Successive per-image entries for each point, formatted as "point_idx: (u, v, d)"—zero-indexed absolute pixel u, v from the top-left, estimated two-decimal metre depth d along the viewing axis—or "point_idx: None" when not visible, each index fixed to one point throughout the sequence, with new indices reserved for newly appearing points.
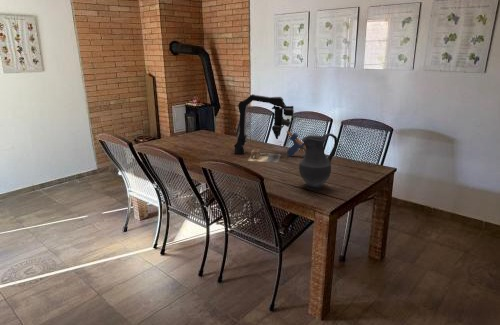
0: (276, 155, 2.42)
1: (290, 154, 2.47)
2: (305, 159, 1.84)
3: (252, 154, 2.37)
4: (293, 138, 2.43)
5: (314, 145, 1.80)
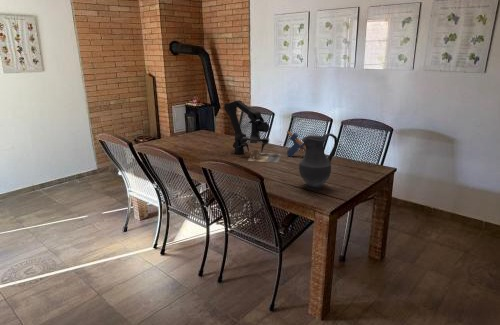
0: (276, 155, 2.42)
1: (290, 154, 2.47)
2: (305, 159, 1.84)
3: (252, 154, 2.37)
4: (293, 138, 2.43)
5: (314, 145, 1.80)
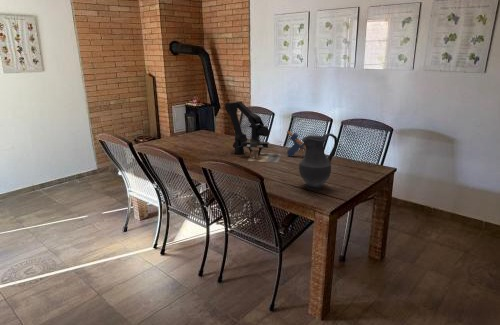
0: (276, 155, 2.42)
1: (290, 154, 2.47)
2: (305, 159, 1.84)
3: (252, 154, 2.37)
4: (293, 138, 2.43)
5: (314, 145, 1.80)
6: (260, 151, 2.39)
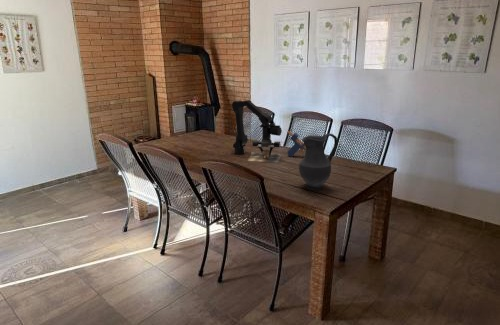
0: (276, 155, 2.42)
1: (291, 154, 2.47)
2: (305, 159, 1.84)
3: (263, 154, 2.36)
4: (294, 138, 2.43)
5: (314, 145, 1.80)
6: (271, 151, 2.37)
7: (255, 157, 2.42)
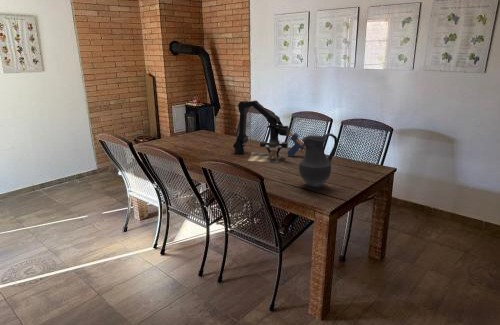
0: None
1: (291, 154, 2.47)
2: (305, 159, 1.84)
3: (271, 154, 2.35)
4: (294, 138, 2.43)
5: (314, 145, 1.80)
6: None
7: (255, 157, 2.42)
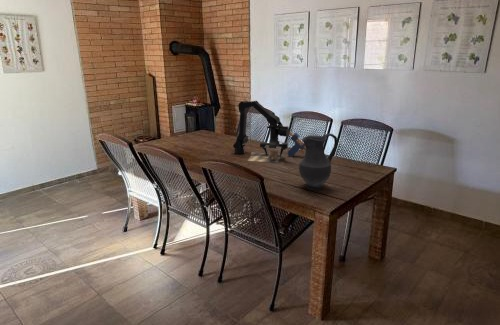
0: None
1: (291, 154, 2.47)
2: (305, 159, 1.84)
3: (271, 155, 2.35)
4: (294, 138, 2.43)
5: (314, 145, 1.80)
6: None
7: (255, 157, 2.42)
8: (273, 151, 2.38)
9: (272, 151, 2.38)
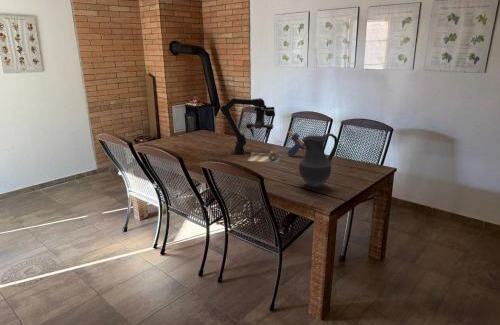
0: None
1: (291, 154, 2.46)
2: (305, 159, 1.84)
3: (271, 155, 2.35)
4: (294, 138, 2.42)
5: (314, 145, 1.80)
6: (267, 133, 2.47)
7: (255, 157, 2.42)
8: (273, 151, 2.38)
9: (272, 151, 2.38)
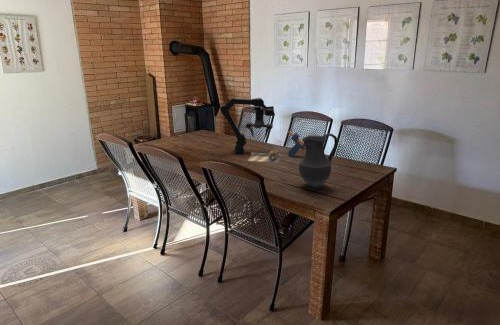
0: None
1: (291, 154, 2.46)
2: (305, 159, 1.84)
3: (271, 155, 2.35)
4: (294, 138, 2.42)
5: (314, 145, 1.80)
6: None
7: (255, 157, 2.42)
8: (273, 151, 2.38)
9: (272, 151, 2.38)
